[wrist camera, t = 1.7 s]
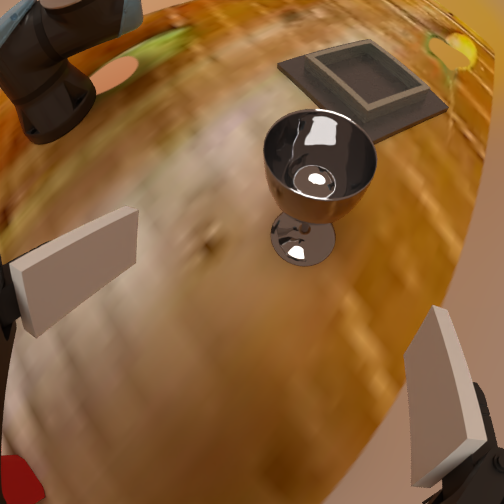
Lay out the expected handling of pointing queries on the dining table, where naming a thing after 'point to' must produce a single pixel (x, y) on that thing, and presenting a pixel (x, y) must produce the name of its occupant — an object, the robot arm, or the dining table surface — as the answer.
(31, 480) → the french fries
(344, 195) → the wine glass
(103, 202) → the dining table surface
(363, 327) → the dining table surface
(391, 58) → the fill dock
